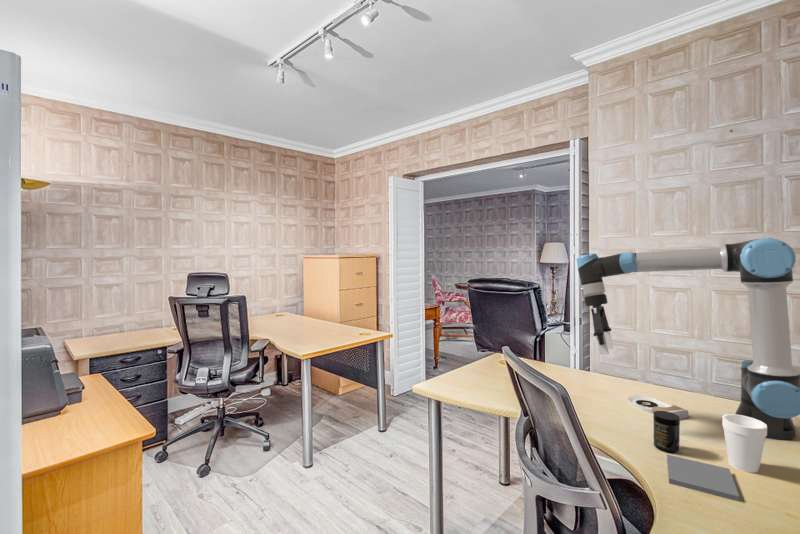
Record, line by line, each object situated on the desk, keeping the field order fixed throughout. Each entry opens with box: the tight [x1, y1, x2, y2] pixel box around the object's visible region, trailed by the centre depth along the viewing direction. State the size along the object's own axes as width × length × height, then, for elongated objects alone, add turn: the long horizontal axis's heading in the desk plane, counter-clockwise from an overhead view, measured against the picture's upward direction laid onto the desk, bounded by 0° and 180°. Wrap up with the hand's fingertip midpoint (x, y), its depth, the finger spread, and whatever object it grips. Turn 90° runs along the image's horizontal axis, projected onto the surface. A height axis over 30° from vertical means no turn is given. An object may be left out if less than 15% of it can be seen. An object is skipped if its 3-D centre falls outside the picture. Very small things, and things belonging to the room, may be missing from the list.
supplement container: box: [652, 411, 681, 454], centre depth 117 cm, size 7×7×10 cm
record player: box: [627, 395, 689, 420], centre depth 147 cm, size 12×3×20 cm
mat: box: [666, 454, 740, 502], centre depth 102 cm, size 14×14×1 cm
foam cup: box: [721, 413, 767, 474], centre depth 107 cm, size 10×9×13 cm
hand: (606, 351), depth 140 cm, fingers open, 13 cm apart
